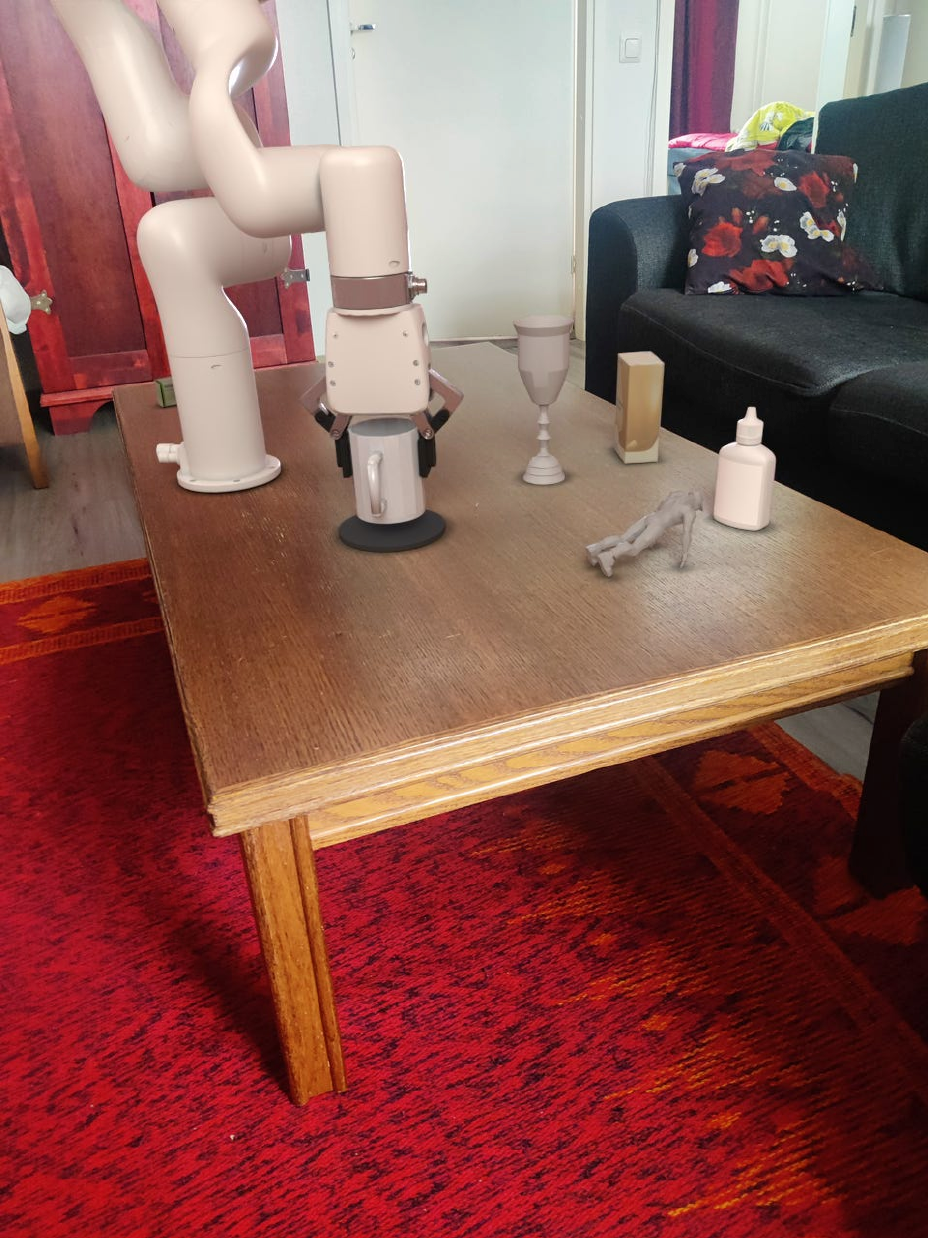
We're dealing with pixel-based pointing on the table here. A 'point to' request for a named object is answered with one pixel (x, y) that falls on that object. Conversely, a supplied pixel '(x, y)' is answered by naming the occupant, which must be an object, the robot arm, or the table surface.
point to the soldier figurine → (650, 530)
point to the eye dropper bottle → (745, 478)
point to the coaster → (392, 533)
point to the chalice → (543, 381)
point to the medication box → (165, 392)
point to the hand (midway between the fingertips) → (387, 472)
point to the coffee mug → (386, 470)
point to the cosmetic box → (638, 407)
